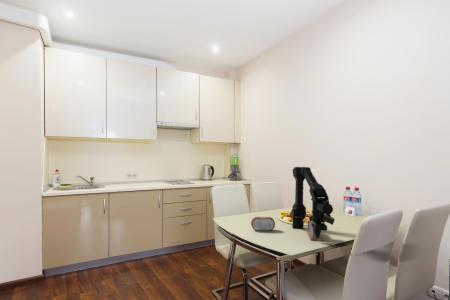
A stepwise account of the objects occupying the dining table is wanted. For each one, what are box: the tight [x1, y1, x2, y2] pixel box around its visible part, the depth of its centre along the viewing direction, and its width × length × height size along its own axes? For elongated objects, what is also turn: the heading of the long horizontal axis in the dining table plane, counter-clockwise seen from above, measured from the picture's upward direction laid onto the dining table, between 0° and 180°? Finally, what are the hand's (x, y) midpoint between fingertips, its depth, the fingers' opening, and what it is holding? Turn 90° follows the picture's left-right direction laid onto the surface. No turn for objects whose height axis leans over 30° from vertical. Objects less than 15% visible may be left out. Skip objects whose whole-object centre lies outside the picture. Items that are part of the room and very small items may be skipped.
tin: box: [250, 216, 276, 232], centre depth 160 cm, size 15×3×8 cm, turn 92°
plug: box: [309, 222, 320, 238], centre depth 149 cm, size 4×12×5 cm, turn 170°
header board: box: [305, 220, 325, 242], centre depth 151 cm, size 7×19×6 cm, turn 170°
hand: (317, 238), depth 140 cm, fingers closed
